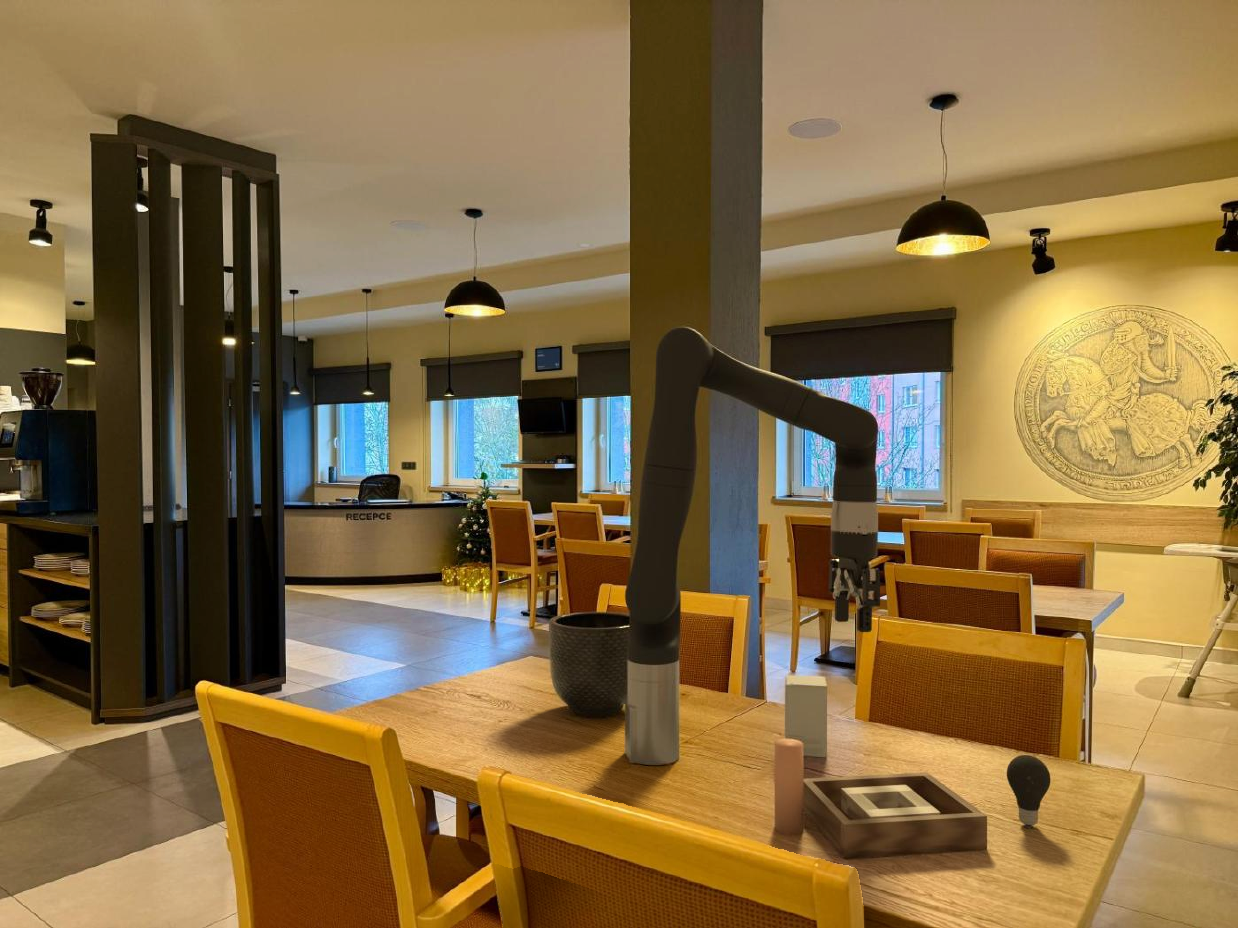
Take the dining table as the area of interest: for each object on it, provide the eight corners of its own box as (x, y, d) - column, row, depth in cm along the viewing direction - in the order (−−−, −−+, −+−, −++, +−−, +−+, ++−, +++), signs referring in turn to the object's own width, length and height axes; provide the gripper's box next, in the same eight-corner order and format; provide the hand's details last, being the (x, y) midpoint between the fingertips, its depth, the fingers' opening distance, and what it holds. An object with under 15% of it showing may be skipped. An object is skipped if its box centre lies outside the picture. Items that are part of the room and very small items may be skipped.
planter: (660, 706, 178) (660, 617, 178) (609, 731, 161) (609, 632, 161) (584, 692, 188) (584, 608, 188) (529, 714, 172) (529, 622, 172)
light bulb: (998, 818, 121) (998, 749, 121) (1035, 817, 122) (1035, 748, 122) (1020, 835, 116) (1020, 763, 116) (1059, 833, 116) (1059, 762, 116)
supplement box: (827, 758, 146) (827, 686, 146) (784, 755, 148) (784, 683, 148) (825, 744, 154) (825, 675, 154) (784, 741, 155) (784, 673, 155)
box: (844, 858, 109) (844, 824, 109) (801, 808, 125) (801, 778, 125) (987, 849, 111) (987, 815, 111) (927, 801, 127) (927, 772, 127)
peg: (780, 834, 116) (779, 748, 116) (770, 822, 120) (770, 739, 120) (807, 833, 116) (807, 747, 116) (797, 821, 120) (797, 737, 120)
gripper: (815, 525, 145) (814, 618, 145) (851, 532, 131) (850, 635, 131) (856, 525, 146) (854, 618, 146) (896, 532, 132) (894, 634, 132)
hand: (852, 626), depth 138 cm, fingers open, 8 cm apart
